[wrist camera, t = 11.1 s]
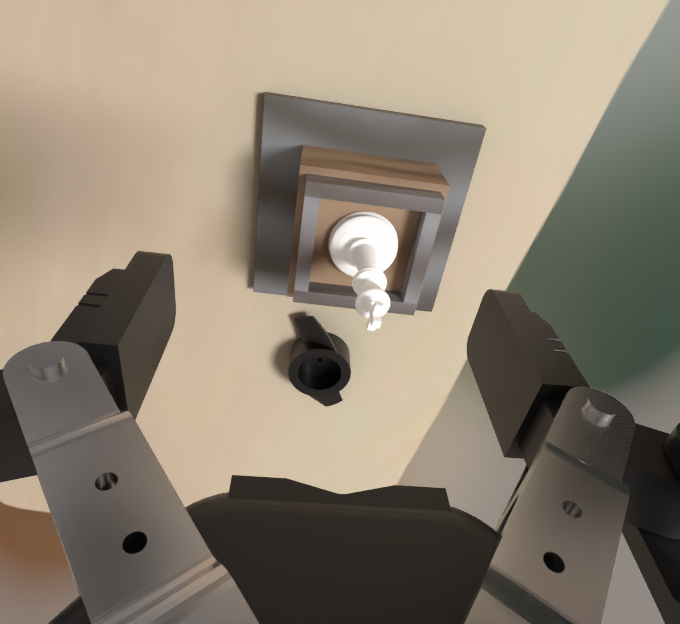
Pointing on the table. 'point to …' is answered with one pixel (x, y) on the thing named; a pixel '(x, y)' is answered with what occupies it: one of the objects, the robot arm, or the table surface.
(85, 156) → the table surface
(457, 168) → the pedestal
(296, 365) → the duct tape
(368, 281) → the chess piece
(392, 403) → the table surface
